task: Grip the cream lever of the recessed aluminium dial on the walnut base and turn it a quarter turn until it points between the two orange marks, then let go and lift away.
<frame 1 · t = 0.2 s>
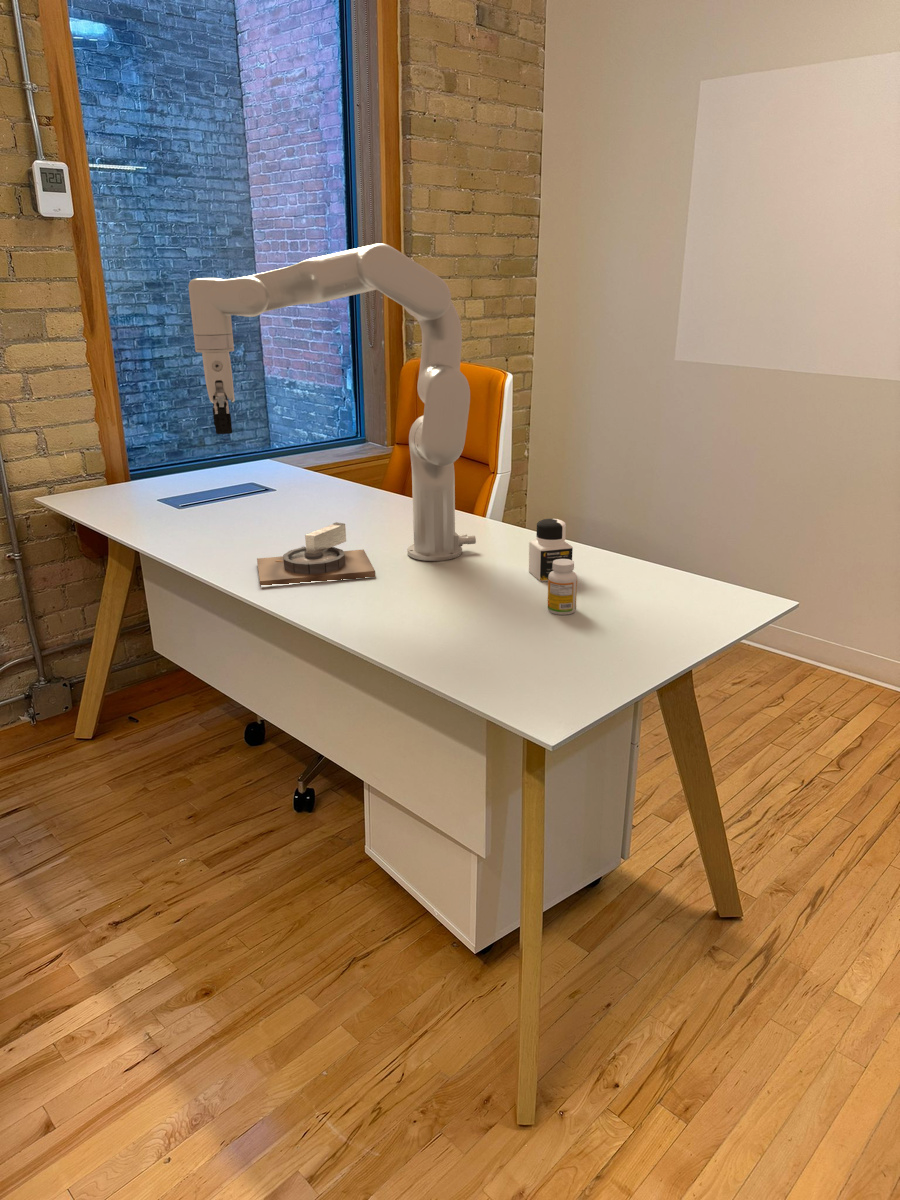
hand: (223, 429, 178), 31 cm above the table, tool pointing down, fingers open, 9 cm apart
medicine bottle: (549, 576, 183), on the table
supplement bottle: (561, 611, 164), on the table
dial: (320, 545, 188), point 5 cm above the table, hinge at 0.0°
dial base: (315, 571, 188), on the table
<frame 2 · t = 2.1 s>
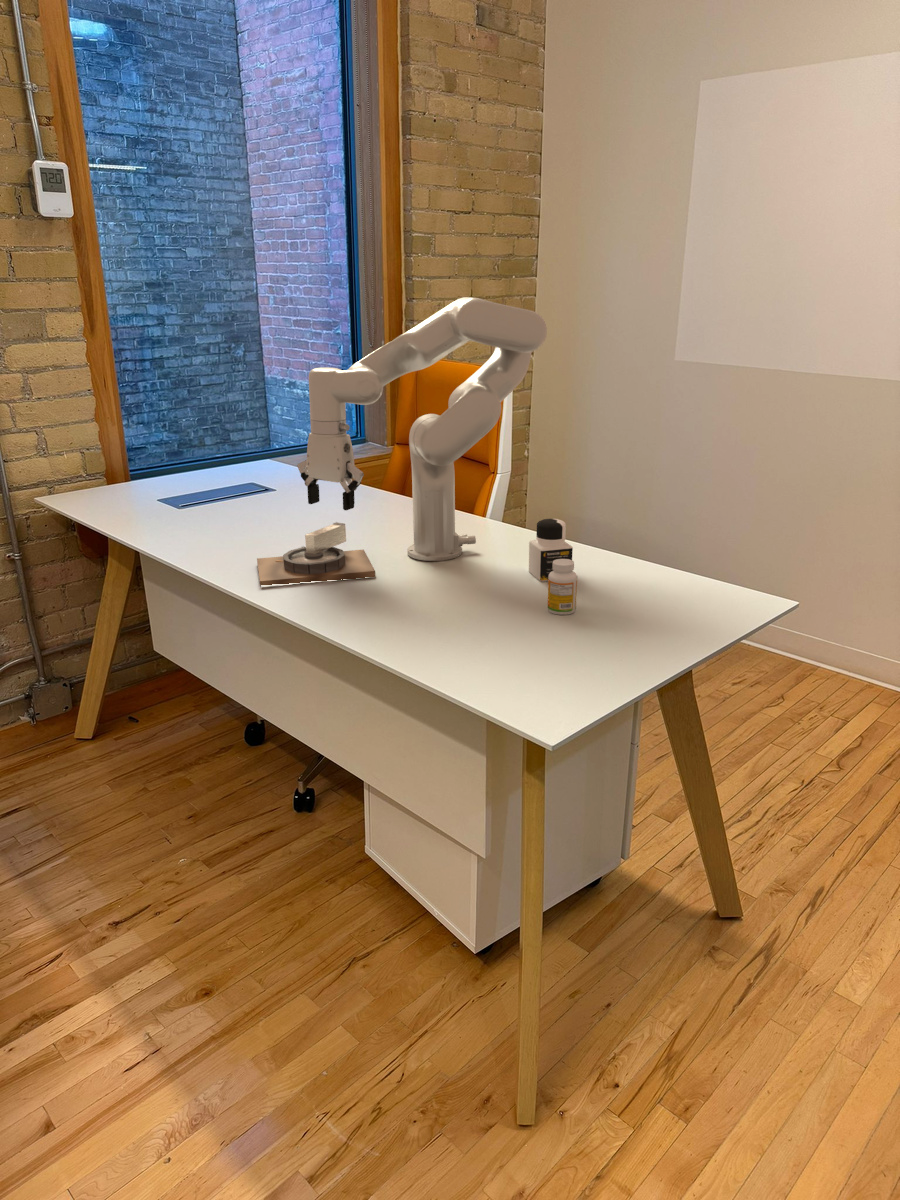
hand: (331, 506, 189), 13 cm above the table, tool pointing down, fingers open, 9 cm apart
nothing on the table moved.
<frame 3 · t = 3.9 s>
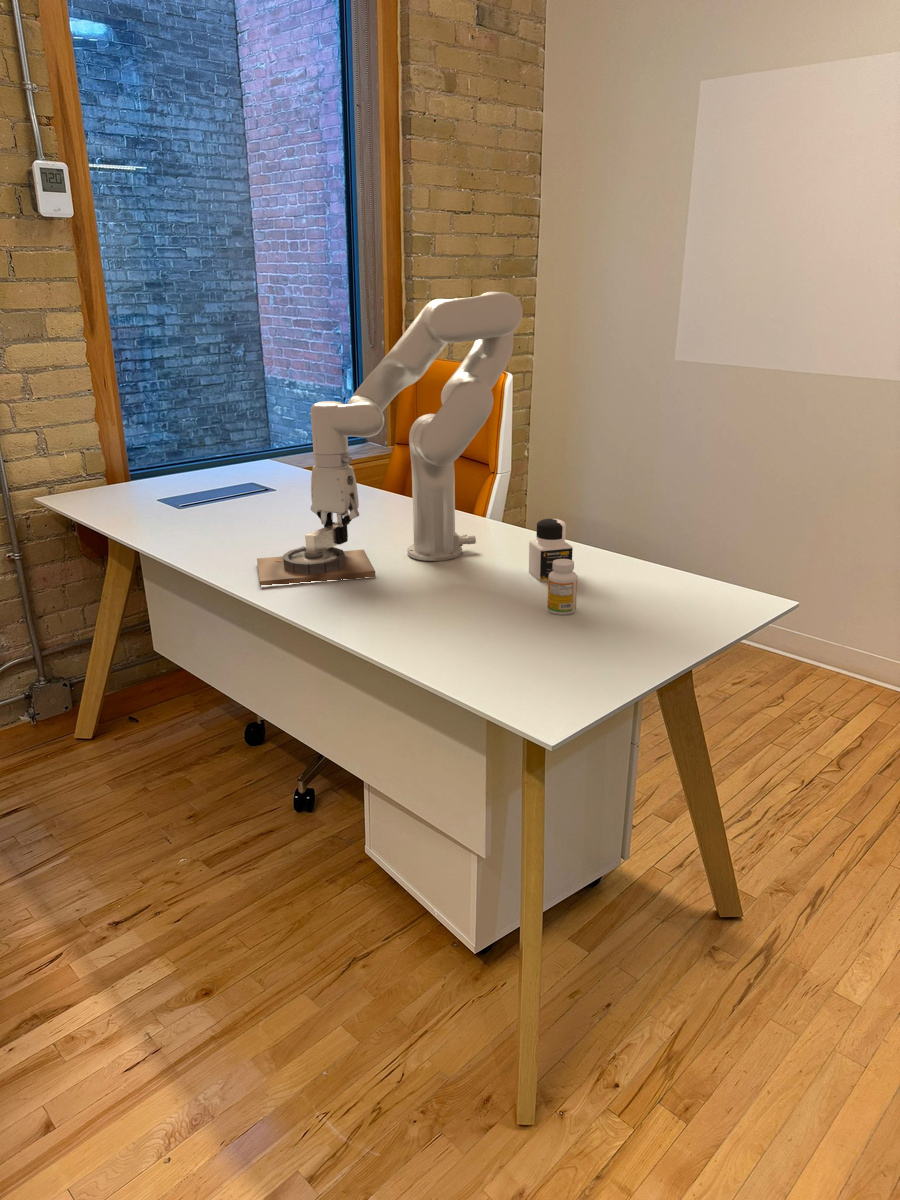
hand: (336, 541, 192), 5 cm above the table, tool pointing down, fingers closed on dial, 2 cm apart
dial: (320, 545, 188), point 5 cm above the table, hinge at 0.0°, touching gripper
everything else where it was.
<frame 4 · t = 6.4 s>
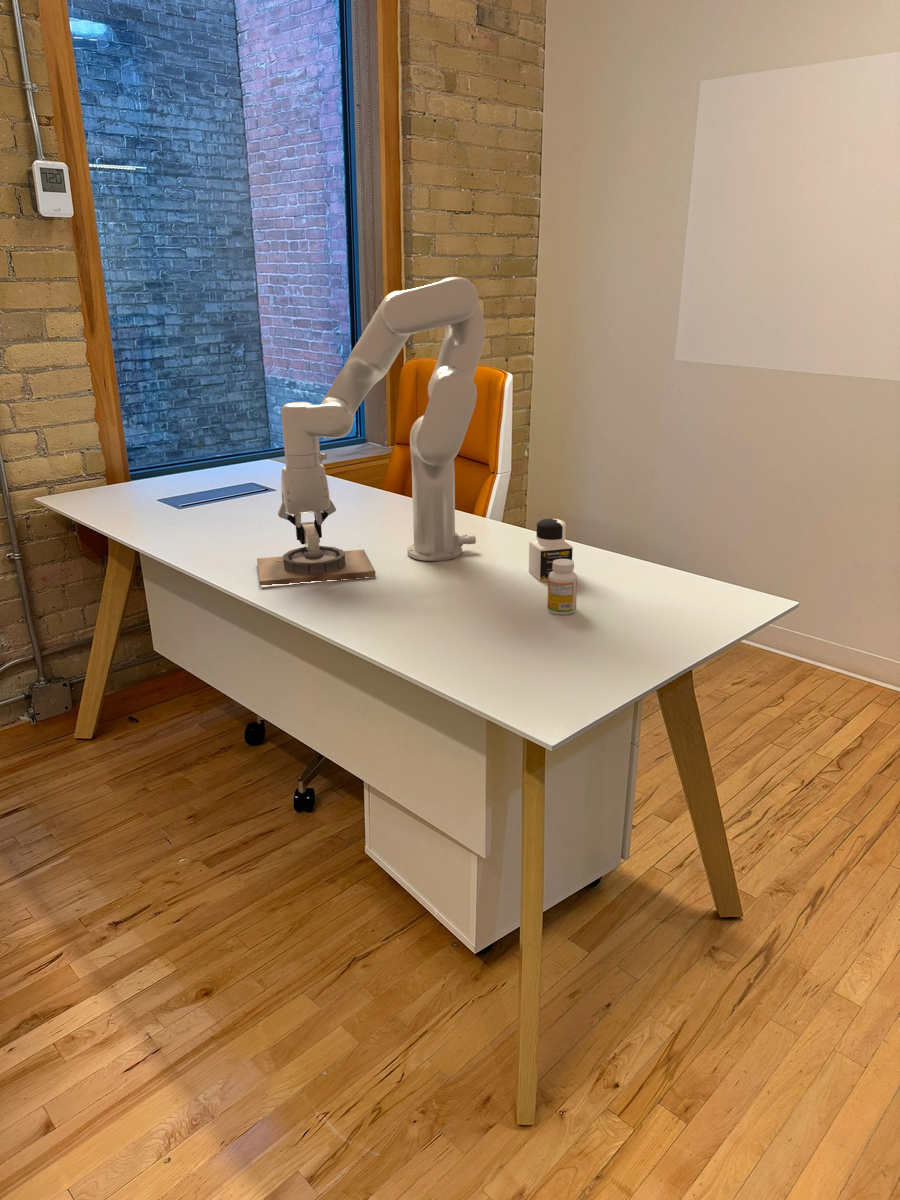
hand: (309, 541, 193), 5 cm above the table, tool pointing down, fingers closed on dial, 2 cm apart
dial: (312, 545, 188), point 5 cm above the table, hinge at 46.0°, touching gripper
everything else where it was.
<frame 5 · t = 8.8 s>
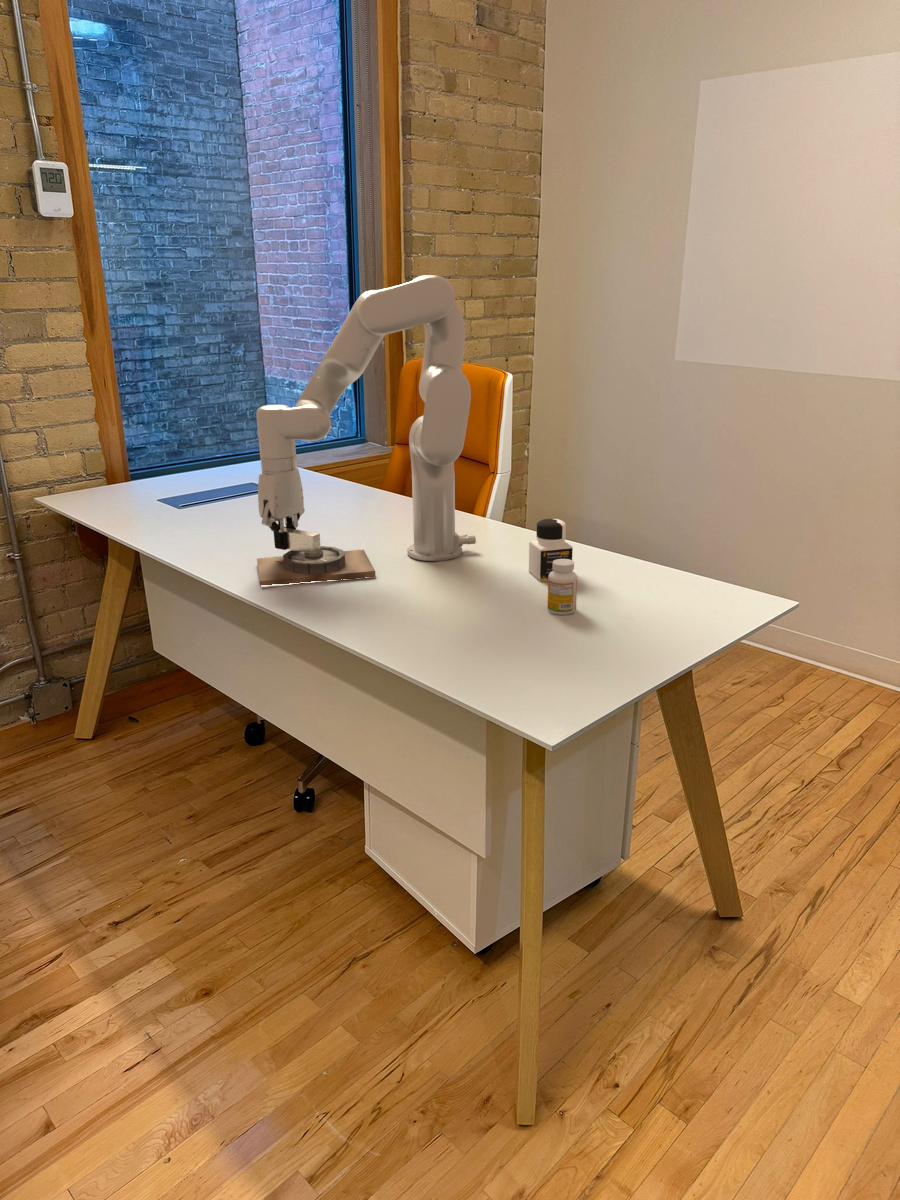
hand: (286, 546, 190), 4 cm above the table, tool pointing down, fingers closed on dial, 2 cm apart
dial: (304, 547, 187), point 5 cm above the table, hinge at 89.0°, touching gripper
everything else where it was.
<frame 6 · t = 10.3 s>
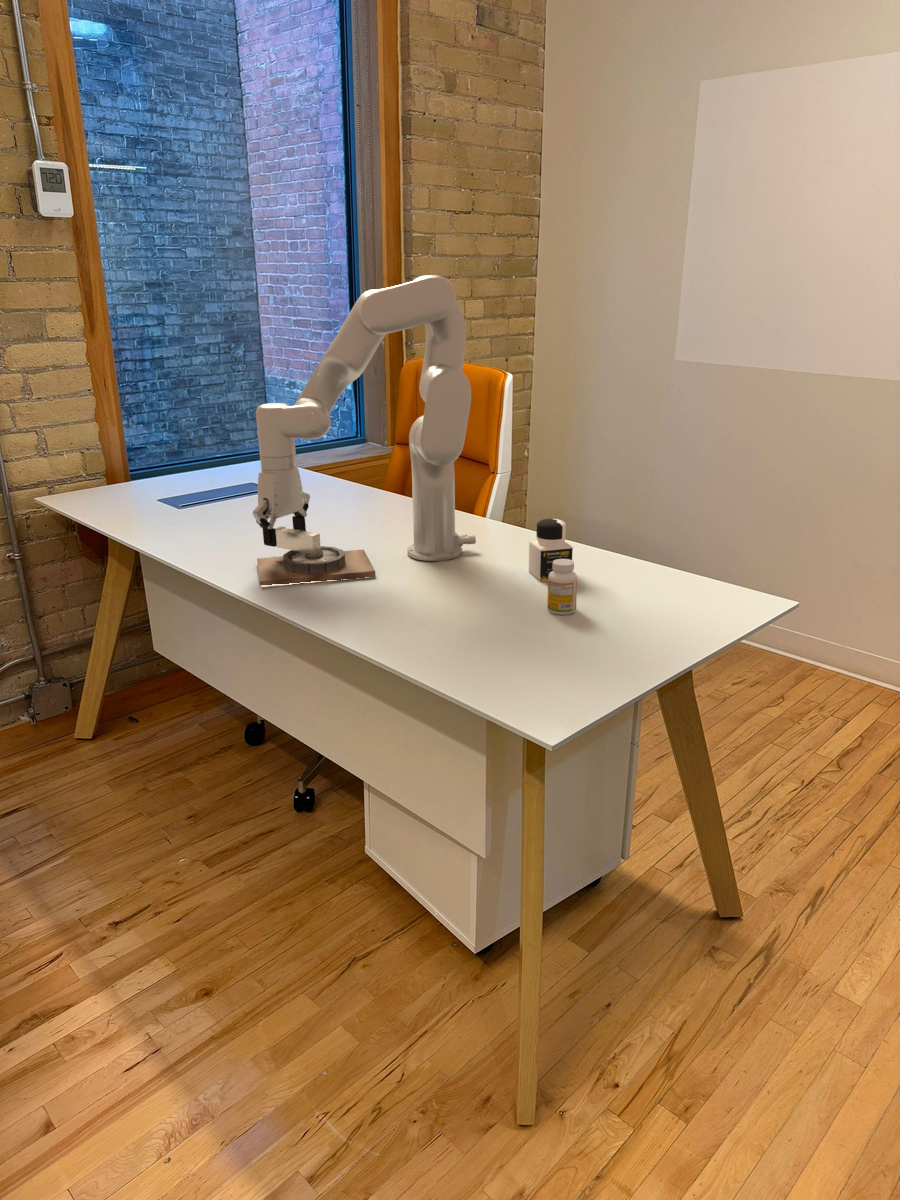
hand: (285, 539, 189), 6 cm above the table, tool pointing down, fingers open, 9 cm apart
dial: (304, 547, 187), point 5 cm above the table, hinge at 89.2°
everything else where it was.
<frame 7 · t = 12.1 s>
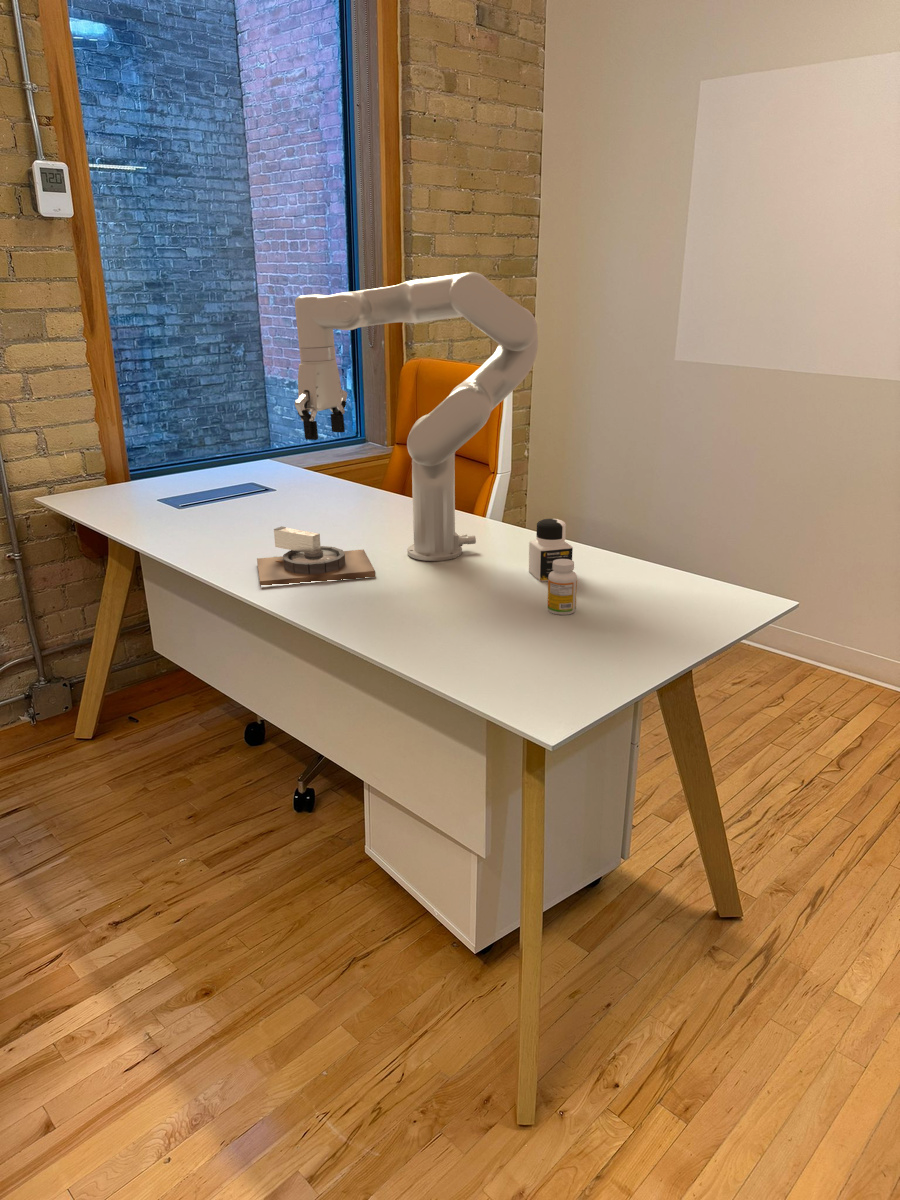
hand: (325, 435, 190), 27 cm above the table, tool pointing down, fingers open, 9 cm apart
nothing on the table moved.
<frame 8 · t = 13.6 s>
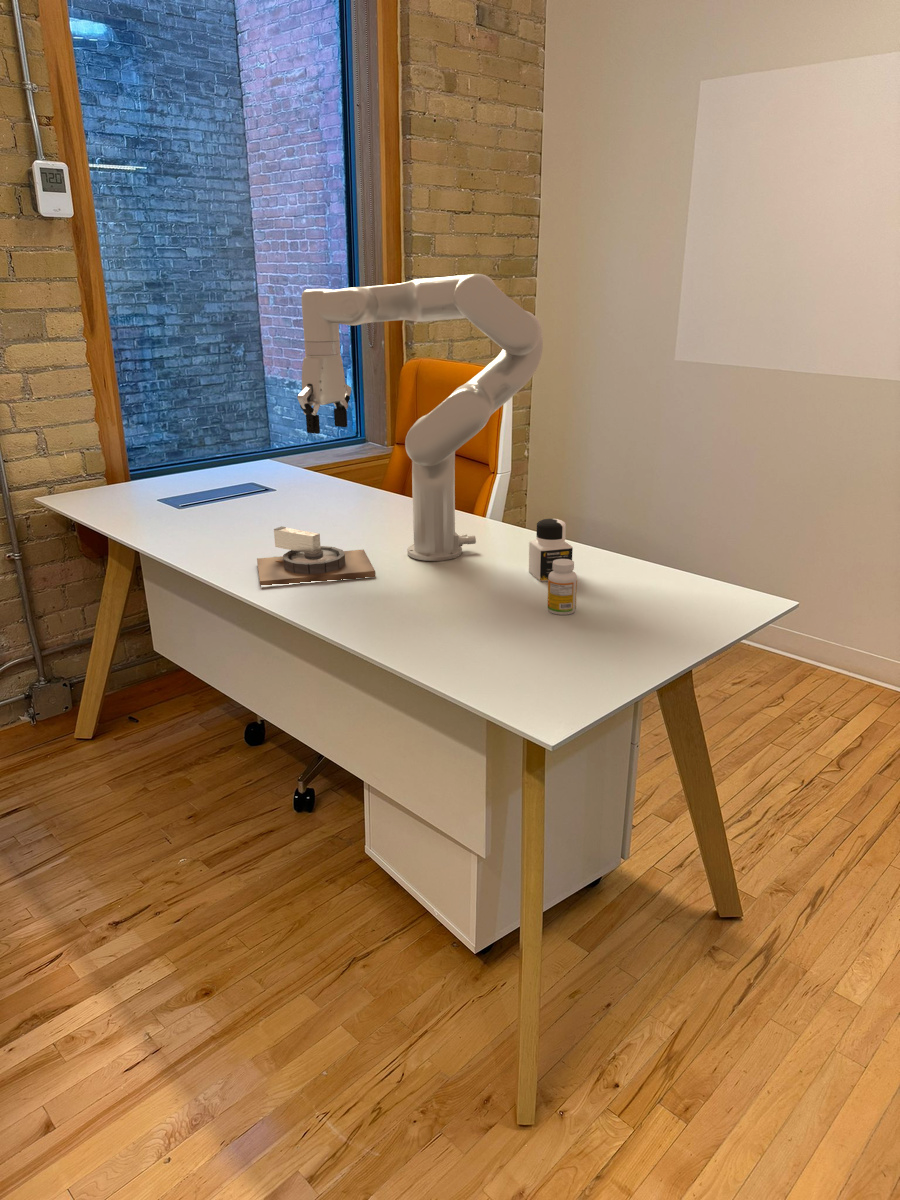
hand: (327, 429, 191), 28 cm above the table, tool pointing down, fingers open, 9 cm apart
nothing on the table moved.
at the end: dial at +89° (first picture: +0°) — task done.
